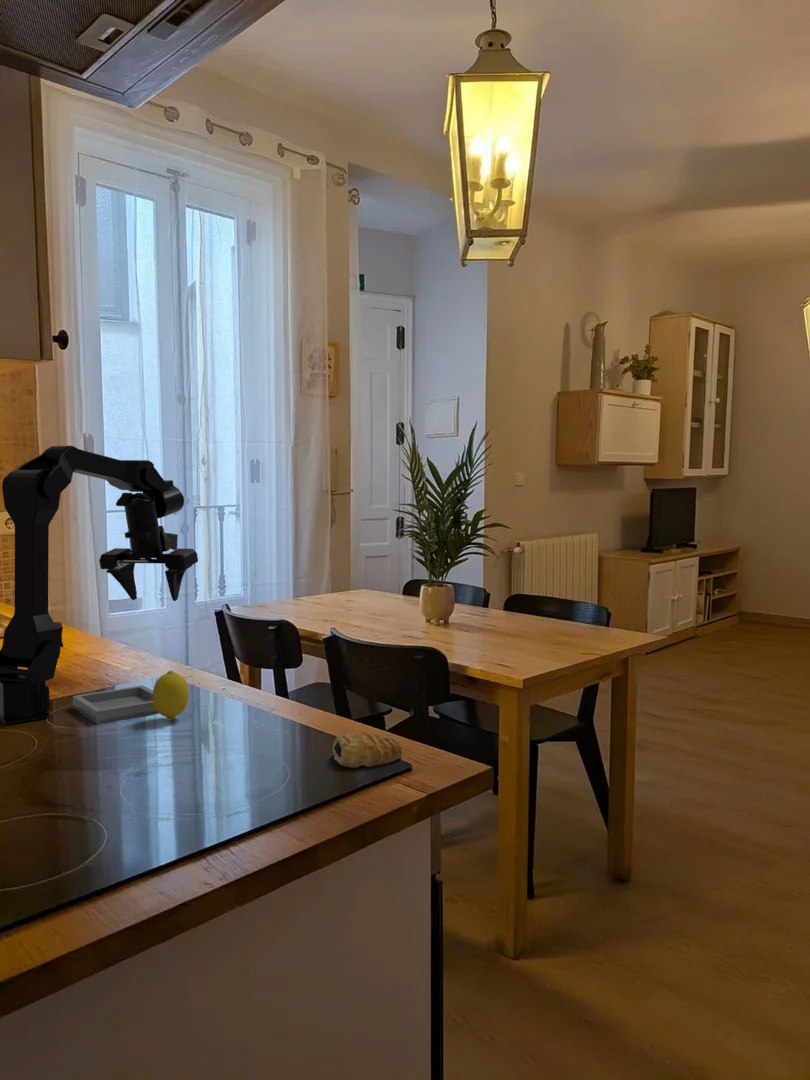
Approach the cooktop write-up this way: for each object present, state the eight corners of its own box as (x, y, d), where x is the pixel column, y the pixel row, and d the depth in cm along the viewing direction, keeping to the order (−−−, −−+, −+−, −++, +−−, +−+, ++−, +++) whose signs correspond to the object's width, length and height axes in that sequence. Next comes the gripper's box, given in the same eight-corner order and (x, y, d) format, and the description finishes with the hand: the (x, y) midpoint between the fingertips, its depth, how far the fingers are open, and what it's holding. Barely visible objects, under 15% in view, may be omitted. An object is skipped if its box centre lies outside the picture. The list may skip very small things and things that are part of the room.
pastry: (392, 749, 111) (393, 723, 111) (409, 765, 105) (409, 737, 105) (329, 756, 108) (329, 729, 108) (342, 773, 102) (342, 744, 102)
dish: (96, 724, 122) (96, 711, 121) (72, 707, 131) (72, 696, 131) (170, 711, 129) (170, 699, 129) (143, 696, 138) (142, 685, 138)
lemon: (178, 726, 121) (178, 675, 120) (146, 723, 122) (145, 673, 122) (195, 716, 126) (194, 667, 126) (164, 714, 127) (163, 665, 127)
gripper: (206, 514, 157) (216, 587, 161) (124, 514, 161) (136, 586, 165) (177, 528, 146) (189, 606, 150) (91, 528, 151) (104, 604, 155)
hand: (154, 599), depth 155 cm, fingers open, 9 cm apart
